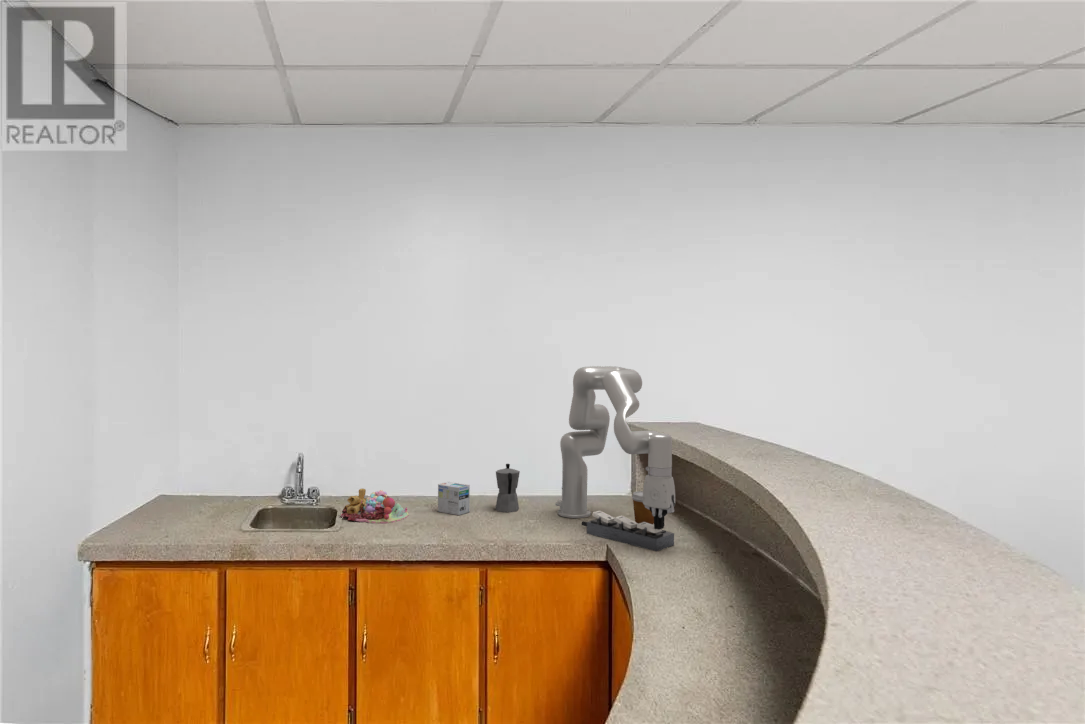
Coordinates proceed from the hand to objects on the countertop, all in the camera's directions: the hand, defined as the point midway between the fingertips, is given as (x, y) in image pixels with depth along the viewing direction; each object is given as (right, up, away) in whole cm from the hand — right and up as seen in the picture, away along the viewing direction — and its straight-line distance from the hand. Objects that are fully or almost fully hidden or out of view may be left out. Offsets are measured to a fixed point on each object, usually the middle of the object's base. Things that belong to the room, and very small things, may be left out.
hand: (659, 528), depth 244 cm
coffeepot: (-51, -4, +49) cm, 71 cm away
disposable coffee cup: (-1, -6, +27) cm, 28 cm away
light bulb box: (-72, -4, +44) cm, 84 cm away
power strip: (-11, -6, +13) cm, 18 cm away
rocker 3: (-3, 0, +3) cm, 4 cm away
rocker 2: (-10, 0, +9) cm, 13 cm away
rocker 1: (-17, 0, +16) cm, 23 cm away
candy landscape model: (-100, -4, +38) cm, 107 cm away
